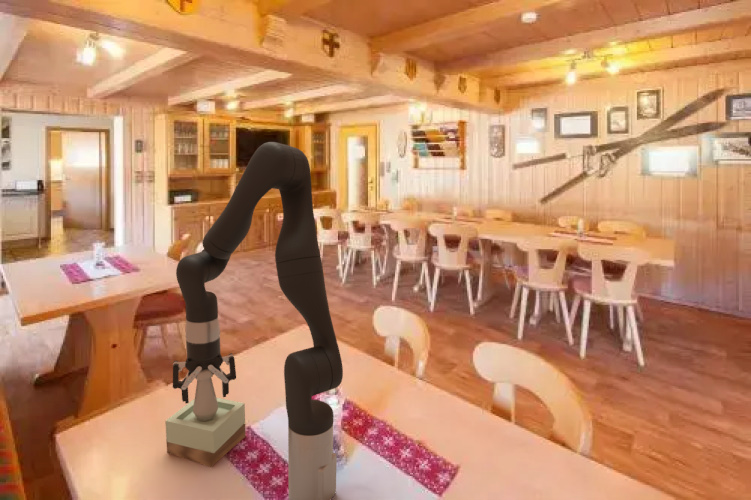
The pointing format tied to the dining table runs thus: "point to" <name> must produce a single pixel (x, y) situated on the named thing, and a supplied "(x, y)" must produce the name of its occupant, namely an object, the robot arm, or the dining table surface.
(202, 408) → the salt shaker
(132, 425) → the dining table surface
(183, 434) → the top block
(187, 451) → the base block
